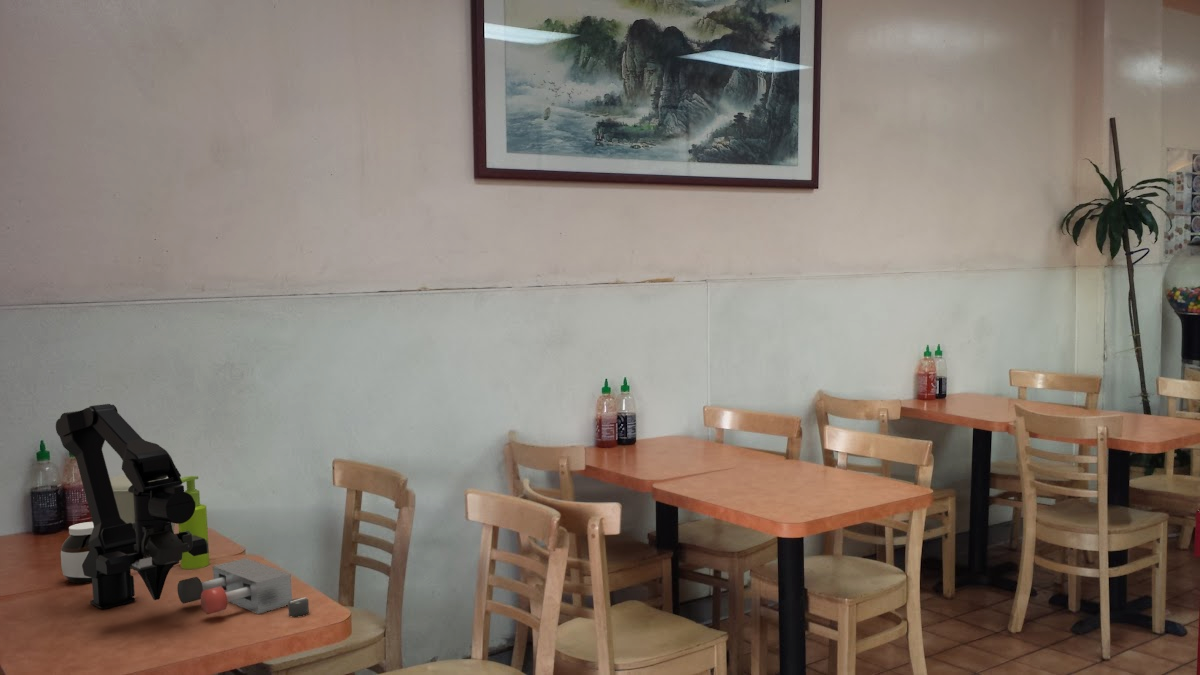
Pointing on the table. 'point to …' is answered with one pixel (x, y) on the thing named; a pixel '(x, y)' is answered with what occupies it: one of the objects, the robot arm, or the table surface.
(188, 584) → the black knob
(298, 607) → the dial
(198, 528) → the soap dispenser
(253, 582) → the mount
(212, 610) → the red knob
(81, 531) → the spread jar
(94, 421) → the robot arm
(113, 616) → the table surface
